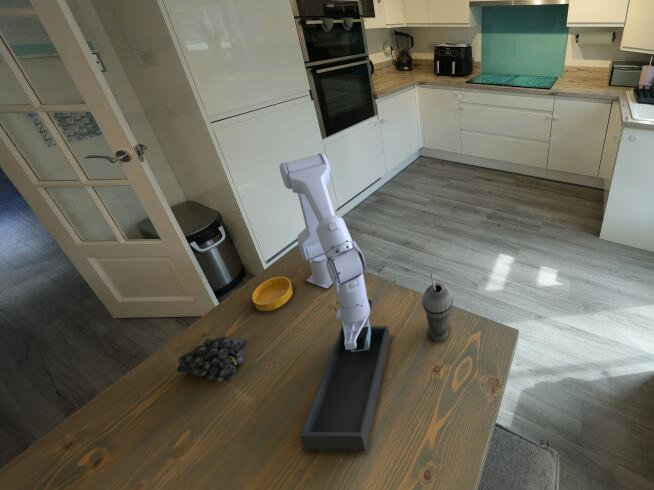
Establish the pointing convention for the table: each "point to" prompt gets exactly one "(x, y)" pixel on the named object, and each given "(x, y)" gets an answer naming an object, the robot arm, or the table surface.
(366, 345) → the toy block
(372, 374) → the bin
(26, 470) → the table surface
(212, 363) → the fruit
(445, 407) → the table surface
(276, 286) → the bowl
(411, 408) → the table surface
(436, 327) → the beverage cup
